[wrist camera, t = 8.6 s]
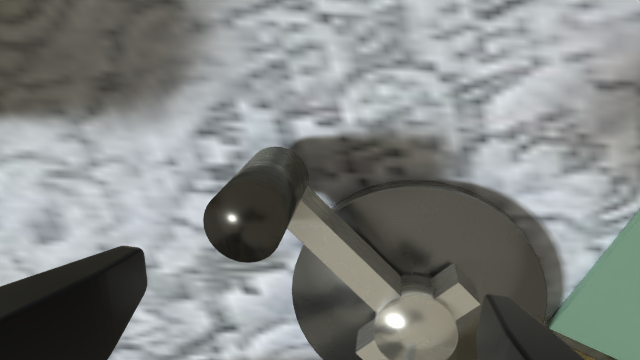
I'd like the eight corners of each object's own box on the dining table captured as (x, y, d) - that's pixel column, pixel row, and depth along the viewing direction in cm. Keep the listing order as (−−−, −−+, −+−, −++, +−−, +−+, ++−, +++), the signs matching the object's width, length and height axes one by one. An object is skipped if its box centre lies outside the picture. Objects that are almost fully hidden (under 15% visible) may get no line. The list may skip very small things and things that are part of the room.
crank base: (460, 416, 25) (463, 431, 24) (264, 327, 25) (259, 339, 24) (594, 247, 20) (604, 259, 19) (353, 138, 20) (351, 144, 19)
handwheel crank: (490, 298, 20) (517, 383, 16) (392, 361, 23) (391, 452, 18) (300, 108, 19) (269, 141, 14) (214, 196, 21) (162, 249, 16)
